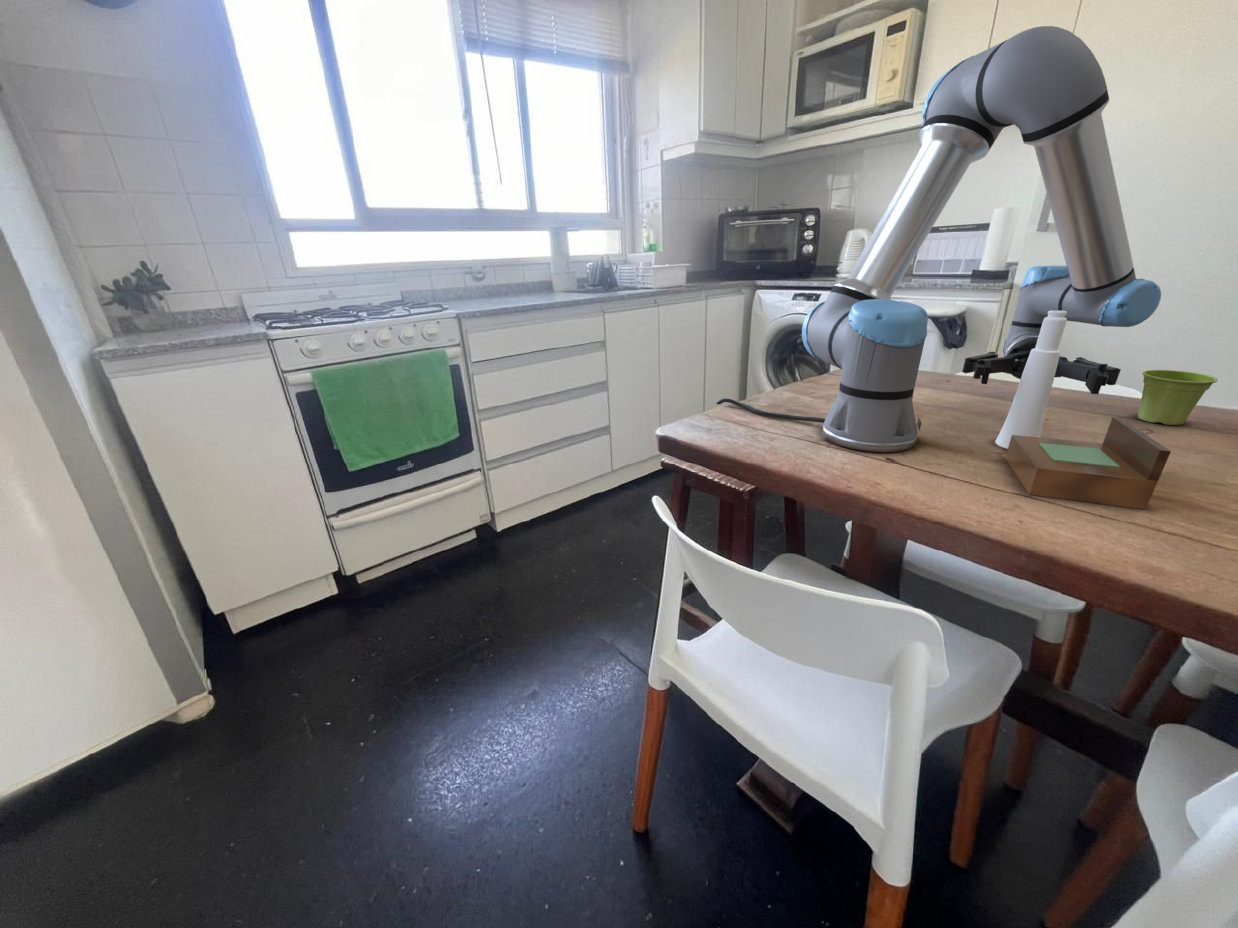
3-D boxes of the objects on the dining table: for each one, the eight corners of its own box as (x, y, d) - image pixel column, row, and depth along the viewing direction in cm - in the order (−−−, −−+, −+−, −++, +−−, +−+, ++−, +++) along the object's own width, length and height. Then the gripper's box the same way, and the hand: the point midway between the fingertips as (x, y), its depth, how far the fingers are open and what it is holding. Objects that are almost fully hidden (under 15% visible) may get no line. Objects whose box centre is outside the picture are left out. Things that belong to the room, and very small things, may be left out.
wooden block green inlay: (1028, 494, 67) (1046, 439, 64) (1004, 458, 79) (1019, 410, 76) (1145, 509, 62) (1171, 451, 59) (1102, 468, 74) (1121, 417, 71)
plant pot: (1213, 428, 88) (1235, 380, 85) (1159, 429, 88) (1179, 382, 85) (1161, 412, 97) (1179, 369, 93) (1112, 414, 97) (1128, 370, 94)
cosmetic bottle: (1049, 450, 81) (1095, 312, 73) (1018, 453, 80) (1060, 314, 72) (1015, 438, 87) (1054, 308, 78) (986, 441, 86) (1022, 310, 77)
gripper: (1113, 383, 87) (1141, 414, 71) (948, 370, 101) (940, 394, 85) (1129, 340, 84) (1162, 363, 68) (956, 333, 98) (950, 350, 82)
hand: (1039, 380), depth 76 cm, fingers open, 13 cm apart
